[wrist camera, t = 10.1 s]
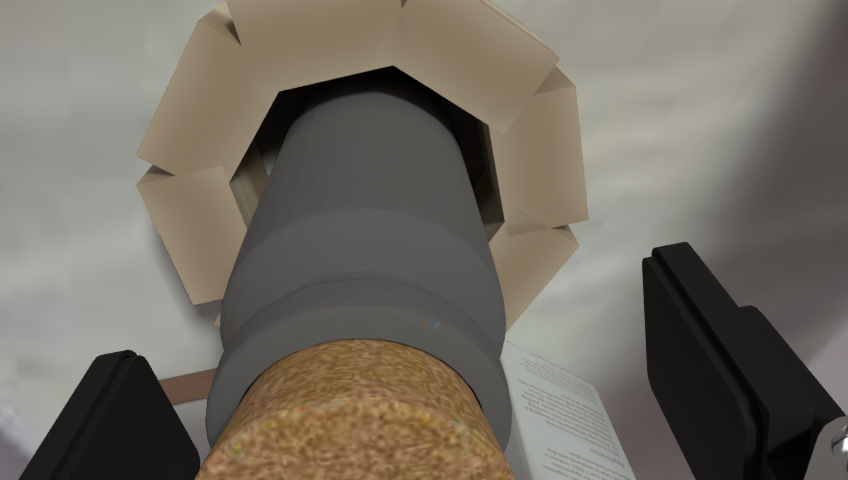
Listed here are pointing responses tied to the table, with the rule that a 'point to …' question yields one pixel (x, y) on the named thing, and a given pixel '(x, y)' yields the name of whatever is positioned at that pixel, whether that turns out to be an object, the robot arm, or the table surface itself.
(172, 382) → the brown wooden stick
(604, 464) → the small box
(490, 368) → the bottle
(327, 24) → the segmented wooden ring
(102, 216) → the table surface
